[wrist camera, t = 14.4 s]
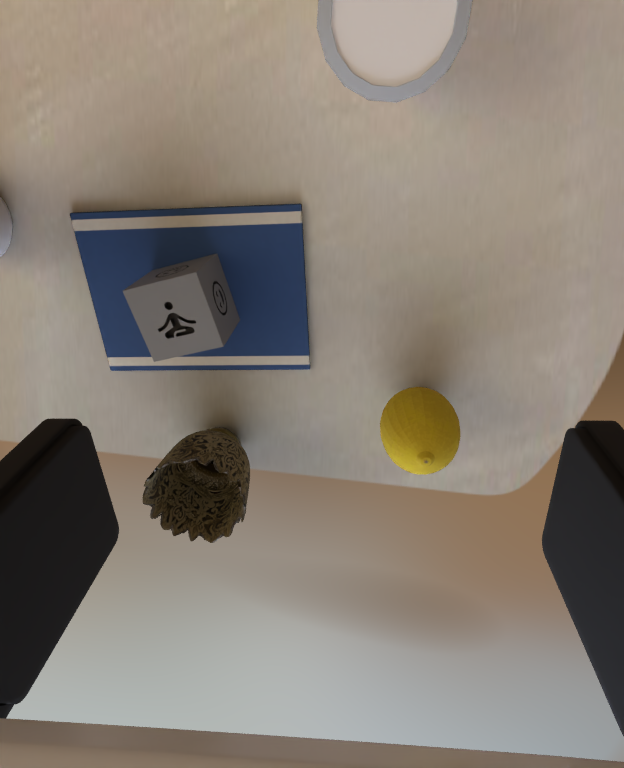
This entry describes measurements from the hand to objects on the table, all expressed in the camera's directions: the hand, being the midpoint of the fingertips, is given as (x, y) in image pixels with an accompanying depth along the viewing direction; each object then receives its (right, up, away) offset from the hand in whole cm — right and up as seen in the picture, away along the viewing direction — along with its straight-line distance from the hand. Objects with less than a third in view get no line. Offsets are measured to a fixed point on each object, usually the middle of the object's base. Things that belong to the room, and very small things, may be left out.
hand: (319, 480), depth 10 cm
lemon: (+8, +1, +29) cm, 30 cm away
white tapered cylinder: (+4, +22, +18) cm, 29 cm away
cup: (-8, -3, +32) cm, 33 cm away
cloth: (-9, +9, +26) cm, 29 cm away
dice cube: (-8, +8, +26) cm, 29 cm away
